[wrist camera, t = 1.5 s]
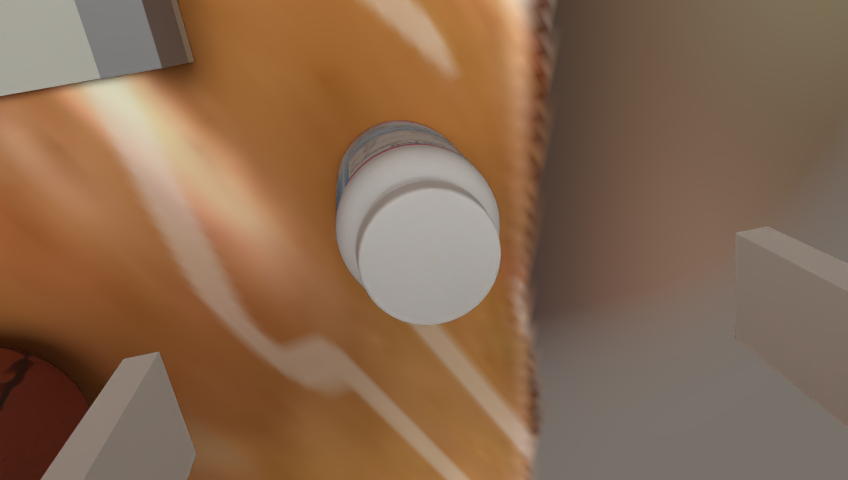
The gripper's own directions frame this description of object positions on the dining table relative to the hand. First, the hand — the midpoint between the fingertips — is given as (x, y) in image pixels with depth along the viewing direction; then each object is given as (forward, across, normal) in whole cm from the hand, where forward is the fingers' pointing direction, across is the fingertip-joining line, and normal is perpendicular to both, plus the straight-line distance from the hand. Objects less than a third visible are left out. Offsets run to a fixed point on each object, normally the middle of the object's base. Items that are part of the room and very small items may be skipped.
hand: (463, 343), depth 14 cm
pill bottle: (+17, 0, 0) cm, 17 cm away
